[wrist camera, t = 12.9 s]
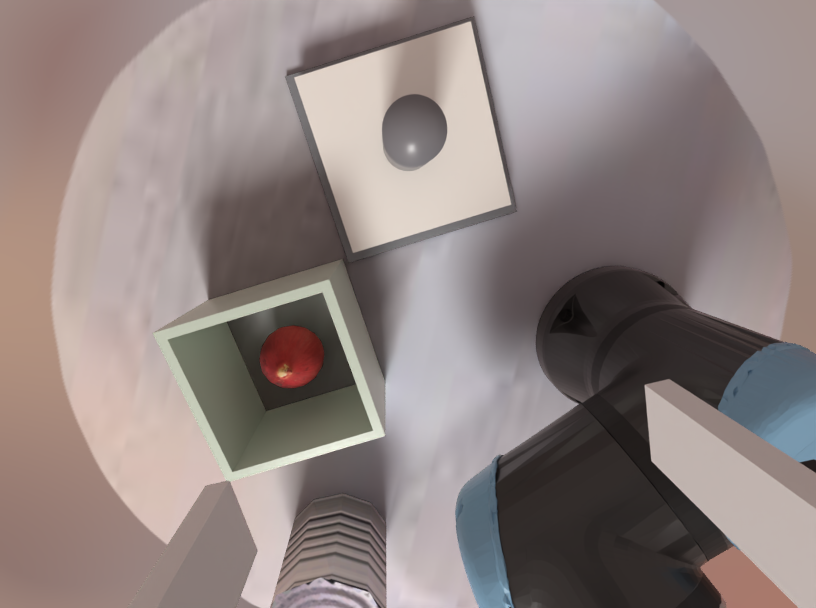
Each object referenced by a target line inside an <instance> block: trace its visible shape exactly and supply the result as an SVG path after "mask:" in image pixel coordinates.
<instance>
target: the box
mask: <svg viewBox="0 0 816 608" xmlns="http://www.w3.org/2000/svg"><path fill="white" fill-rule="evenodd" d="M322 292H323V295H324V297H325V300H326V303H327V306H328V308H329V311H330V314H331V317H332V319H333V322H334V325H335V328H336V330H337V333H338V336H339V338H340V341H341V344H342V347H343V349H344V352H345V355H346V358H347V360H348V363H349V366H350V368H351V371H352V374H353V377H354V379H355V382H356V384H355V385H352V386H349V387H345V388H342V389H339V390H335V391H332V392H329V393H325V394H322V395H319V396H315V397H312V398H308V399H305V400H302V401H298V402H295V403H292V404H288V405H285V406H282V407H278V408H275V409H272V410H268V411H266V410H265V408H264V406H263V403H262V401H261V399H260V397H259V394H258V392H257V390H256V388H255V385H254V383H253V381H252V379H251V376H250V374H249V372H248V370H247V367H246V365H245V363H244V360H243V358H242V356H241V354H240V351H239V349H238V347H237V345H236V342H235V340H234V338H233V336H232V333H231V331H230V329H229V327H228V324H227V321H230V320H234V319H237V318H240V317H243V316H247V315H250V314H253V313H257V312H260V311H263V310H266V309H270V308H273V307H276V306H280V305H283V304H286V303H289V302H293V301H296V300H299V299H302V298H306V297H309V296H312V295H316V294H319V293H322ZM153 335H154V337H155V339H156V341H157V343H158V345H159V347H160V349H161V351H162V353H163V355H164V357H165V359H166V361H167V363H168V365H169V367H170V369H171V371H172V373H173V375H174V377H175V379H176V381H177V383H178V385H179V387H180V389H181V391H182V393H183V395H184V397H185V399H186V401H187V403H188V405H189V407H190V409H191V411H192V413H193V415H194V417H195V419H196V421H197V423H198V425H199V427H200V429H201V431H202V433H203V435H204V437H205V439H206V441H207V443H208V445H209V447H210V449H211V451H212V453H213V455H214V457H215V459H216V461H217V463H218V465H219V467H220V469H221V471H222V473H223V475H224V477H225V479H226V481H230V482H231V481H234V480H238V479H241V478H244V477H248V476H251V475H255V474H258V473H261V472H265V471H268V470H272V469H275V468H278V467H282V466H285V465H289V464H292V463H295V462H299V461H302V460H306V459H309V458H312V457H316V456H319V455H323V454H326V453H329V452H333V451H336V450H340V449H343V448H346V447H350V446H353V445H356V444H360V443H363V442H367V441H370V440H373V439H377V438H380V437H384V436H385V380H384V377H383V375H382V372H381V369H380V366H379V363H378V360H377V357H376V354H375V351H374V348H373V346H372V343H371V340H370V337H369V334H368V331H367V328H366V325H365V322H364V319H363V317H362V314H361V311H360V308H359V305H358V302H357V299H356V296H355V293H354V290H353V287H352V285H351V282H350V279H349V276H348V273H347V270H346V267H345V264H344V261H343V259H341V260H337V261H334V262H331V263H327V264H324V265H321V266H318V267H314V268H311V269H308V270H305V271H301V272H298V273H295V274H292V275H288V276H285V277H282V278H278V279H275V280H272V281H269V282H265V283H262V284H259V285H256V286H252V287H249V288H246V289H243V290H239V291H236V292H233V293H230V294H226V295H223V296H220V297H216V298H213V299H210V300H207V301H206V302H204V303H202V304H201V305H199V306H197V307H196V308H194V309H192V310H191V311H189V312H187V313H186V314H184V315H182V316H181V317H179V318H177V319H176V320H174V321H172V322H171V323H169V324H167V325H166V326H164V327H162V328H161V329H159V330H157V331H156V332H154V333H153Z"/></svg>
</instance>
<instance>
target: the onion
mask: <svg viewBox="0 0 816 608" xmlns="http://www.w3.org/2000/svg"><path fill="white" fill-rule="evenodd" d="M259 360H260V364H261V369H262V372H263V374H264V375H265V376H266V377H267V378H268V380H269V381H270V382H271V383H273V384H275V385H277V386H279V387H281V388H297V387H300V386H304V385H306V384H307V383H309V382H310V381H311V380H313V379H314V378H315V377H316V376H317V374H318V372H319V371H320V369H321V367H322V365H323V360H324V349H323V346H322V342H321V341H320V339H319V338H318V337H317V336H316V335H315V333H313V332H311V331H310V330H308V329H306V328H304V327H299V326H294V325H293V326H287V327H282V328H279V329H277V330H276V331H275V332H273V333H272V334H270V335H269V336H268V338H267V339H266V341H265V343H264V344H263V346H262V348H261V353H260V358H259Z"/></svg>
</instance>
